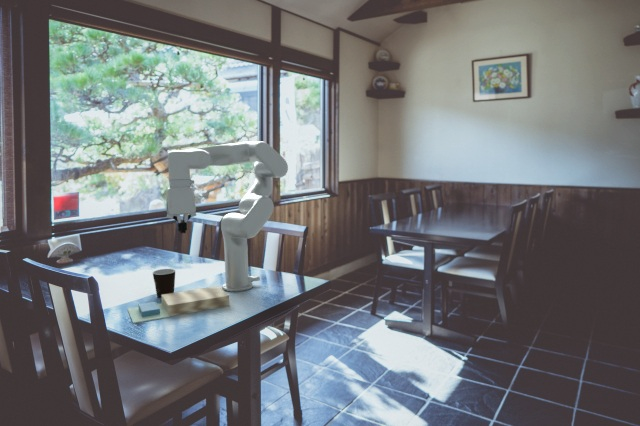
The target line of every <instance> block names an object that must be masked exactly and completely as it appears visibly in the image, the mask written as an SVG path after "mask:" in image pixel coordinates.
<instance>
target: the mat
mask: <svg viewBox="0 0 640 426" xmlns="http://www.w3.org/2000/svg"><path fill="white" fill-rule="evenodd" d="M157 305H158V306H159V308H160V314H158V315H152V316H146V317H142V315H141V313H140V311H139V306H134V307H128V308H127V312H128V314H129V316H130V319H131V321H132V324H139V323H145V322H149V321H151V322H152V321H156V320H162V319H168V318H170V317H171V316H169V315H168V313H167V311H166V310H165V308H164V307H163V305H162V302H161V303H157Z"/></svg>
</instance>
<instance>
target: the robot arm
mask: <svg viewBox="0 0 640 426" xmlns="http://www.w3.org/2000/svg"><path fill="white" fill-rule="evenodd" d="M253 162H254V165H253V169H254V176H255V177H254V183H253V184H252V186H251V187H250V189H249V190H248V191H247V192H246V194H245V195H244V196H243V197H242V198H241V200H240V201H239V203H238V211H239V212H240V213H239V212H229V213H227V214H225V215H224V216H223V217H222V219H221V222H220V228H221V229H220V230H221V234H222V238H223V248H224V249H223V250H224V271H225V273H224V274H225V283H223V284H222V286H221V289H222V290H223V291H225V292H235V293H236V292H243V291H244V292H245V291H249V290H250V289H252V288H253V282H258V281H259V282H260V281H261V280H260V279H261V277H260V276H259V275H258V276H255V275H251V276H250V275H249V255H248V253H249V252H248V251H249V250H248V247H249V246H248V241H247V239H252V238H254V237H256V236H257V235H258V234H259V232H261V230H262V229H263V227H265V225H266V223H267V221H268V220H270V218H271V217H272V216H273V215H272V214H273V211H274V207H275V205H274V201H273V200H272V198H271V194H272V192H273V183H272V178H274V179H275V178H277V179H279V178H283V177H285V176H286V175H287V173H288V170H289V166H288V163H287V160H286V159H285V158H284V157H283V156H282V155H281V154H279V152H277V150H276V149H274V147H272V146H271V145H270V144H268V143H267V142H266V141H262V140H261V141H260V140H257V141H252V140H250V141H241V142H232V143H225V144H218V145H212V146H211V145H210V146H205V147H204V146H203V147H195V148H188V149H184V150H171V151H170V150H169V151H168V153H167V165H168V169H167V170H168V180H169V181H168V182H169V185H168V186H169V187H167V190H166V195H165V196H166V200H165V202H166V204H165V205H166V209H165V211H166V213H167V214H166V218H168V219H172V220H174V221H175V222H176V223H177V231H178V232H179V233H180V234H186V232H187V230H188V226H187V225H188V224H187V222H188V221H189V220H190V219H191V218H193V217H196V216H197V213H196V211H197V209H196V208H197V206H196V205H197V204H196V198H195V193H194V189H193V187H192V185H193V184H194V185H195V180H193V179H191V173H190V172H191V171H190V170H197V171H198V170H201V171H202V170H205V169H208V167H210V166H214V167H215V166H217V167H224V166H234V165H238V164H244V163H245V164H246V163H253ZM181 215H183V216H182V219H181Z"/></svg>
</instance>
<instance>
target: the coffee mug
mask: <svg viewBox="0 0 640 426" xmlns="http://www.w3.org/2000/svg"><path fill="white" fill-rule="evenodd" d="M152 276H153V282H154V287H155V293H156V296H157V298H158V299H161V295H163V294H169V293H175V284H176V270H175V269H174V268H162V269H160V268H159V269H156V270H154V271H152Z"/></svg>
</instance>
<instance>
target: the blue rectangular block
mask: <svg viewBox="0 0 640 426" xmlns="http://www.w3.org/2000/svg"><path fill="white" fill-rule="evenodd" d="M157 304H158V303H157V302H156V301H151V302H150V301H149V302H144V303H138V305H137V307H139V311H140V313H141V315H142V317H146V316H152V315H158V314H160V308H159V306H158V305H157Z"/></svg>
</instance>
